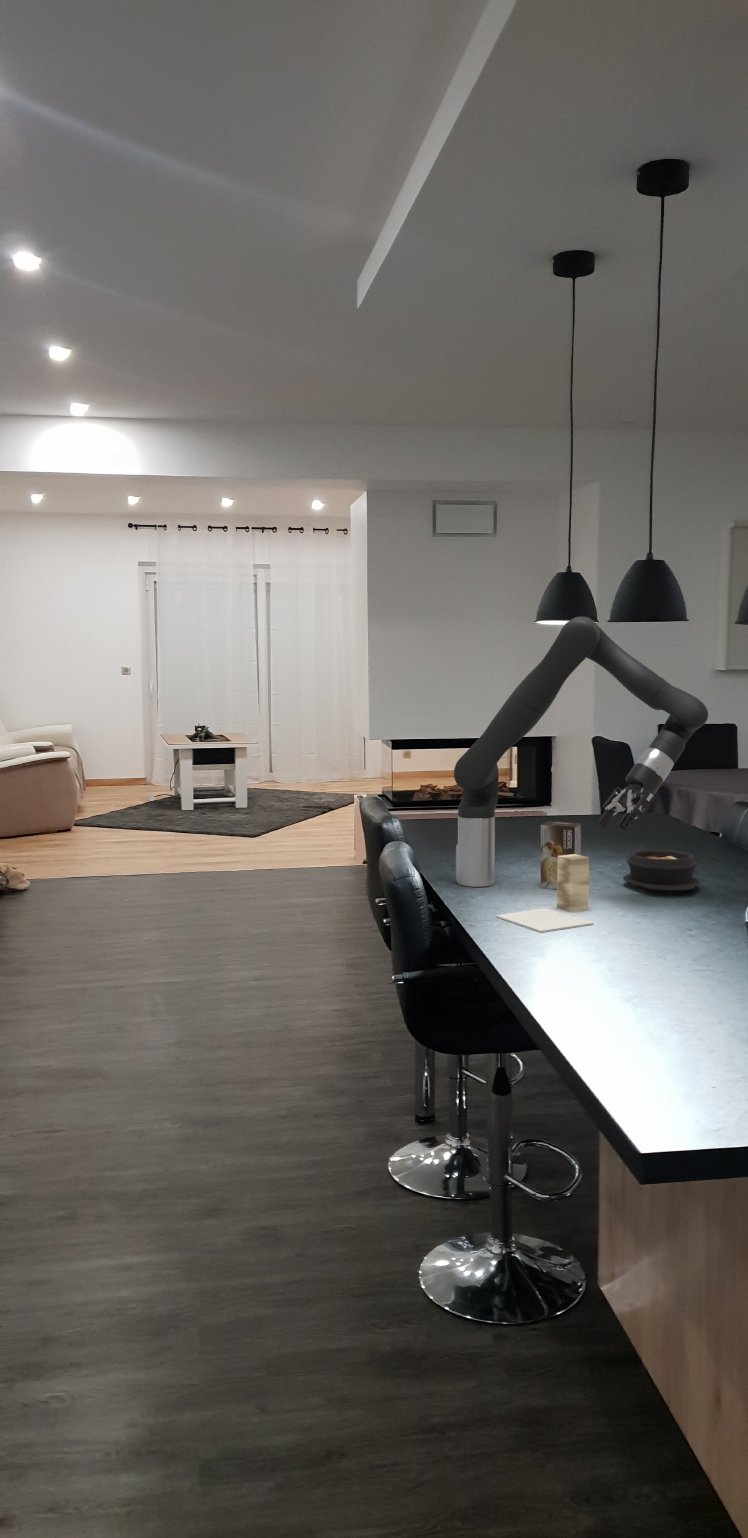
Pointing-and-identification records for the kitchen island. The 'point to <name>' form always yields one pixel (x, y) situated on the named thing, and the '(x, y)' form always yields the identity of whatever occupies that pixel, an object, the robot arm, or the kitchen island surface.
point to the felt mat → (544, 920)
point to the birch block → (573, 883)
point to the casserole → (662, 870)
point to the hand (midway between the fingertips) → (610, 827)
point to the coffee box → (557, 848)
